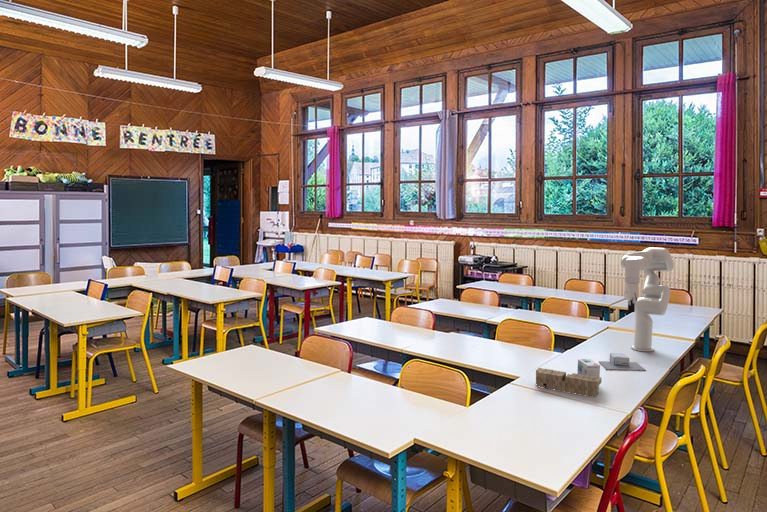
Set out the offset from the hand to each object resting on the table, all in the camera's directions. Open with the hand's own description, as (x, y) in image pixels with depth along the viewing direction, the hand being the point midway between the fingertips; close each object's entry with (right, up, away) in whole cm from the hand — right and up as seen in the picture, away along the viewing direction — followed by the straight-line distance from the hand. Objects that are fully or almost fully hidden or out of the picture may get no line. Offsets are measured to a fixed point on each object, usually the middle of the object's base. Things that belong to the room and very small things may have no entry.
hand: (631, 311), depth 304 cm
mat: (-12, -28, -14) cm, 34 cm away
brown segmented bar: (-54, -32, -50) cm, 81 cm away
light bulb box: (-40, -31, -41) cm, 66 cm away
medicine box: (-11, -25, -6) cm, 28 cm away
